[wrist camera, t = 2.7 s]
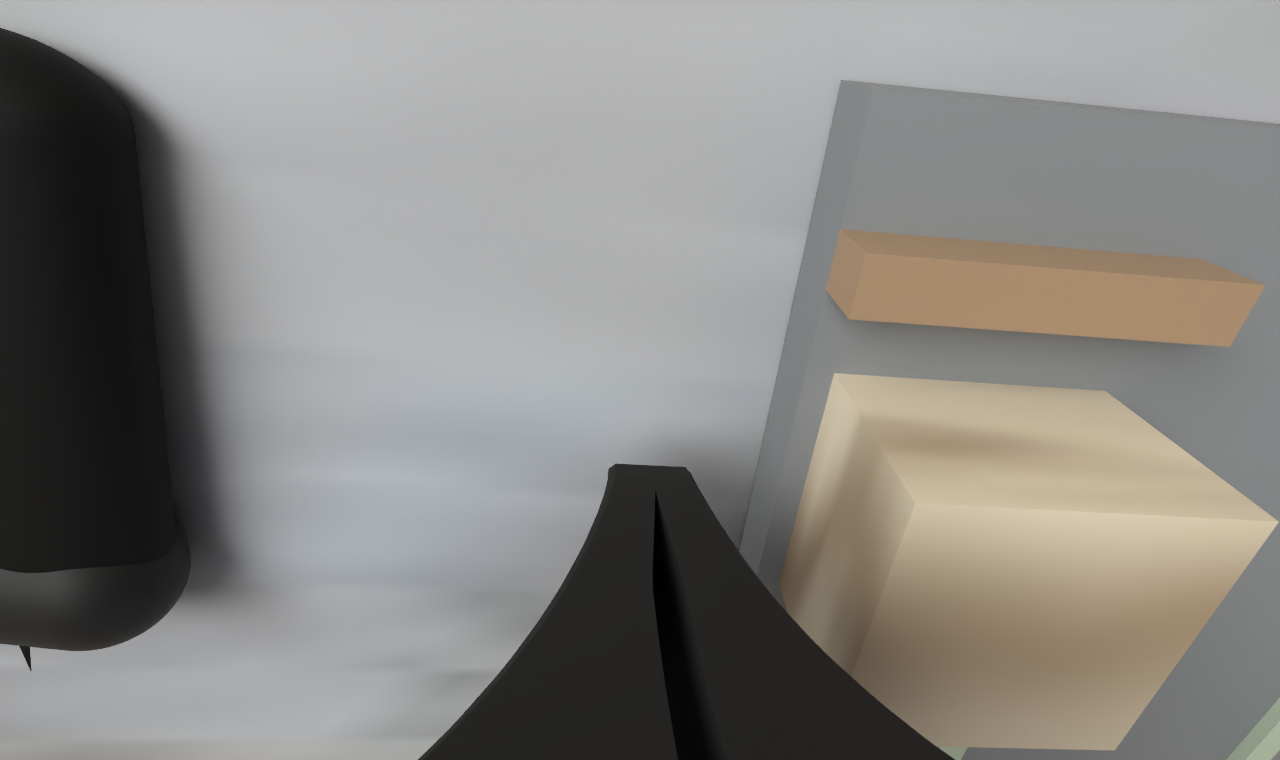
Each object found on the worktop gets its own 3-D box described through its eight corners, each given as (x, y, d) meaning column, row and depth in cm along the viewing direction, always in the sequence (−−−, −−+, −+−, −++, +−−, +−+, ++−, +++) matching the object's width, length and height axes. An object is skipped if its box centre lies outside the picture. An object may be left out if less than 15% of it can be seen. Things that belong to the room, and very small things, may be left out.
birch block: (1005, 592, 14) (1114, 750, 11) (778, 582, 14) (825, 743, 11) (1106, 391, 12) (1279, 521, 9) (834, 373, 11) (915, 503, 8)
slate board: (1411, 770, 21) (1514, 867, 18) (694, 756, 19) (705, 860, 17) (2040, 200, 12) (2381, 243, 10) (841, 80, 11) (907, 97, 8)
